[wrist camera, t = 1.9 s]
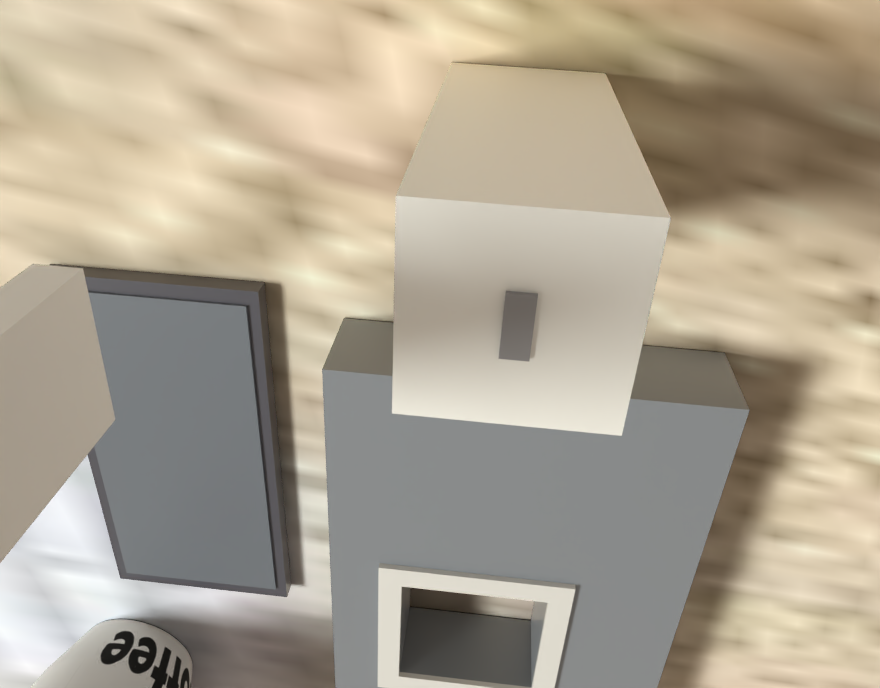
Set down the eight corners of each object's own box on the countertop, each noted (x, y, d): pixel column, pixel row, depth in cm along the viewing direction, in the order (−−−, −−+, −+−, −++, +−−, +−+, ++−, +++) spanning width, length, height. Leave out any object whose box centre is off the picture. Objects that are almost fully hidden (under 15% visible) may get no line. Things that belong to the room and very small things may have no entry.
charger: (451, 62, 19) (395, 198, 11) (605, 73, 19) (671, 220, 11) (443, 207, 22) (390, 416, 13) (582, 218, 21) (622, 439, 13)
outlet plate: (344, 318, 24) (320, 373, 21) (724, 352, 23) (751, 414, 20) (351, 667, 33) (336, 736, 30) (621, 699, 32) (630, 773, 30)
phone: (59, 256, 24) (37, 274, 23) (269, 274, 24) (257, 293, 23) (133, 556, 32) (119, 580, 31) (294, 573, 31) (286, 599, 30)
